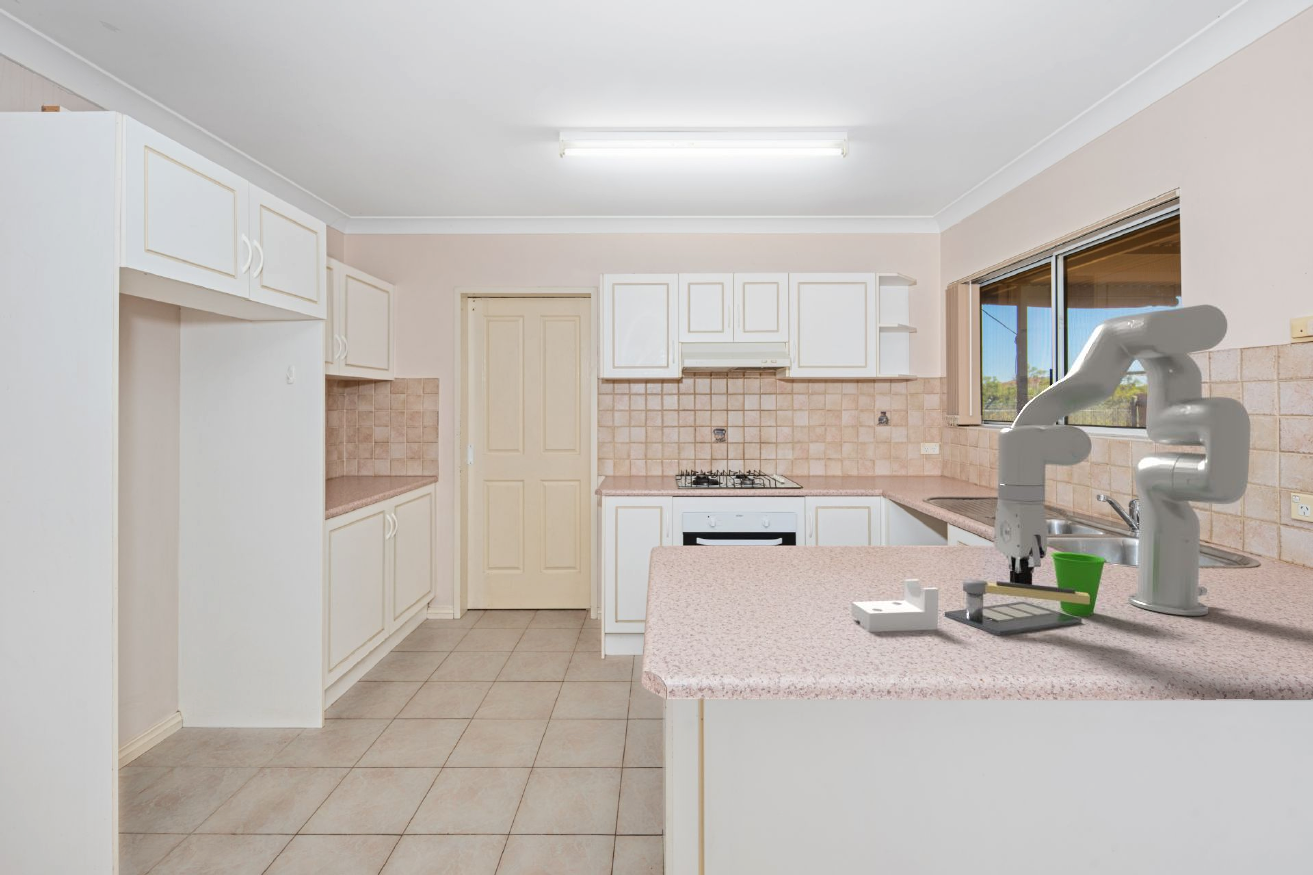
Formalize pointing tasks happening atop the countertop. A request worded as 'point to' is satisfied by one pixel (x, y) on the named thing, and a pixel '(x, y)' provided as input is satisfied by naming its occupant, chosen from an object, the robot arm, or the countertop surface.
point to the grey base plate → (1009, 616)
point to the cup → (1078, 578)
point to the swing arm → (1025, 591)
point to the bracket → (900, 610)
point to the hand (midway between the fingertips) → (1020, 592)
